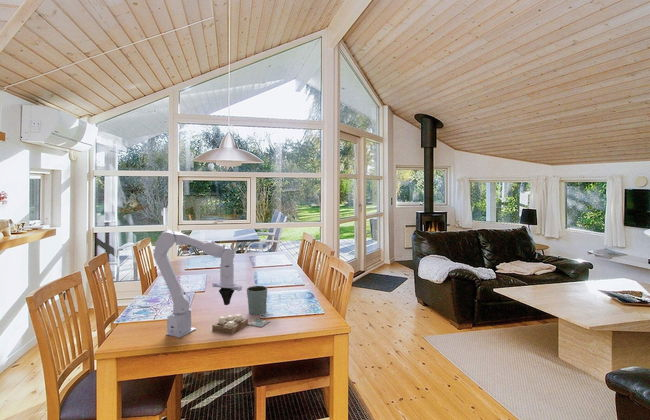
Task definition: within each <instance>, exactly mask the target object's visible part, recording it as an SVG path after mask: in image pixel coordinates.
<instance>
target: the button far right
mask: <svg viewBox="0 0 650 420" xmlns="http://www.w3.org/2000/svg"><path fill="white" fill-rule="evenodd" d="M235 317H236V322H238V323H240V322H242V318H243V314H241V313H237V314H235Z"/></svg>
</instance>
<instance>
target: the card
mask: <svg viewBox="0 0 650 420" xmlns="http://www.w3.org/2000/svg"><path fill="white" fill-rule="evenodd" d="M270 322H271V321H270V320H268V319H266V320H265V319H260V318H255V319H254V320H252V321H250V322H248V325H247V326H253V327H258V328H262V327H264V326H266V325H268V324H269V323H270Z"/></svg>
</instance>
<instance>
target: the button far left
mask: <svg viewBox="0 0 650 420" xmlns="http://www.w3.org/2000/svg"><path fill="white" fill-rule="evenodd" d="M233 316H234V315H232V314H229V315H226V318H227V320H228V321H232V320H233Z"/></svg>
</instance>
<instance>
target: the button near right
mask: <svg viewBox="0 0 650 420" xmlns="http://www.w3.org/2000/svg"><path fill="white" fill-rule="evenodd" d="M233 326H234V321H229V322H228V327H233Z"/></svg>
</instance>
